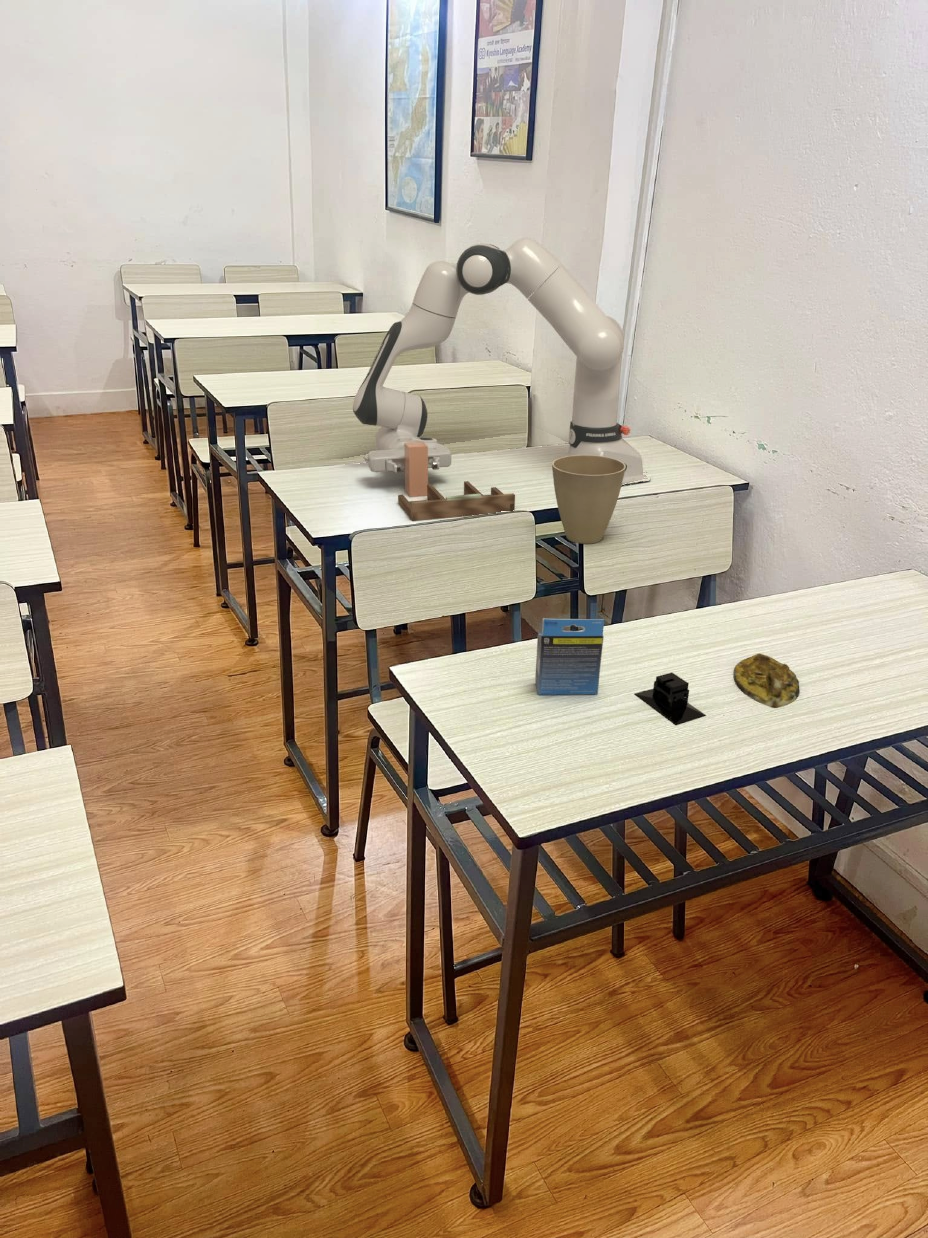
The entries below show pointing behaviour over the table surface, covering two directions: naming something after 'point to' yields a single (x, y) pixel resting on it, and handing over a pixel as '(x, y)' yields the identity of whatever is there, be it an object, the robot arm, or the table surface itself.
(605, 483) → the plant pot
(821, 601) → the table surface
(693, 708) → the black stand
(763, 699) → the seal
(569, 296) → the robot arm
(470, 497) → the box
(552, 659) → the label tape box
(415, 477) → the terracotta block
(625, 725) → the table surface
